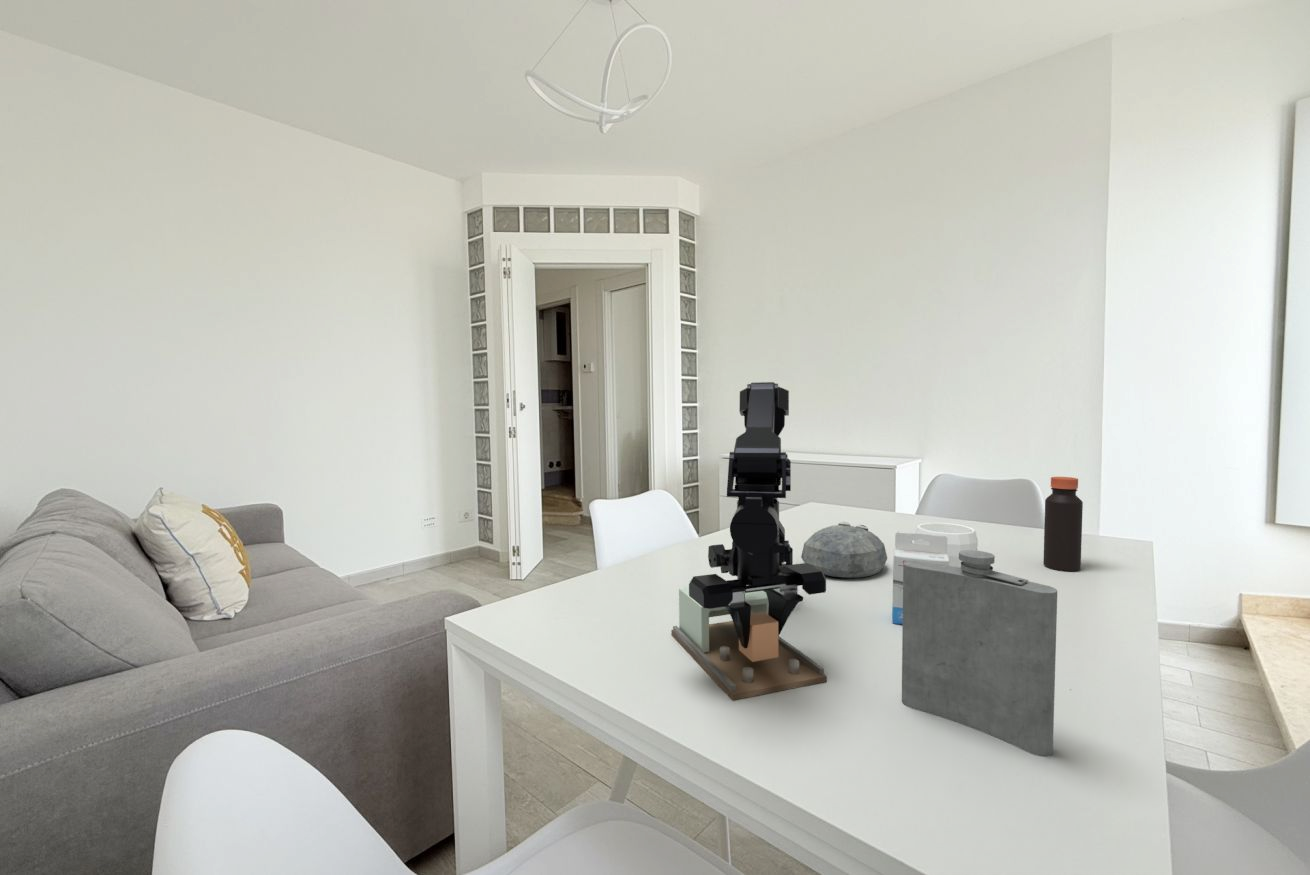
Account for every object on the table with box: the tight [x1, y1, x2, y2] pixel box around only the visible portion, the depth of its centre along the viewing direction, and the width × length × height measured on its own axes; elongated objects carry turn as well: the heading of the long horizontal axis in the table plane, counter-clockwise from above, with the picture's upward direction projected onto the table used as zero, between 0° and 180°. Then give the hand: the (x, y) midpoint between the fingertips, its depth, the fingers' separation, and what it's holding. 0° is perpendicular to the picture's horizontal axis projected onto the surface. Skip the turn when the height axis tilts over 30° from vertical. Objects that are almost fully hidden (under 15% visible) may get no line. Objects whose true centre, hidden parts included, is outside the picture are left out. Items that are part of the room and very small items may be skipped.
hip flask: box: [901, 550, 1058, 757], centre depth 66 cm, size 16×4×20 cm, turn 43°
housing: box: [678, 585, 769, 653], centre depth 90 cm, size 12×9×7 cm
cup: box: [913, 522, 979, 568], centre depth 125 cm, size 12×12×10 cm
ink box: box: [891, 531, 949, 626], centre depth 97 cm, size 9×5×15 cm, turn 65°
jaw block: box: [739, 612, 778, 662], centre depth 80 cm, size 4×4×5 cm
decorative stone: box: [800, 521, 888, 579], centre depth 129 cm, size 18×21×10 cm
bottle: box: [1042, 476, 1084, 572], centre depth 127 cm, size 7×7×20 cm
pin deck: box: [670, 620, 828, 701], centre depth 85 cm, size 14×22×2 cm, turn 19°
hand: (758, 644), depth 80 cm, fingers closed on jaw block, 4 cm apart
